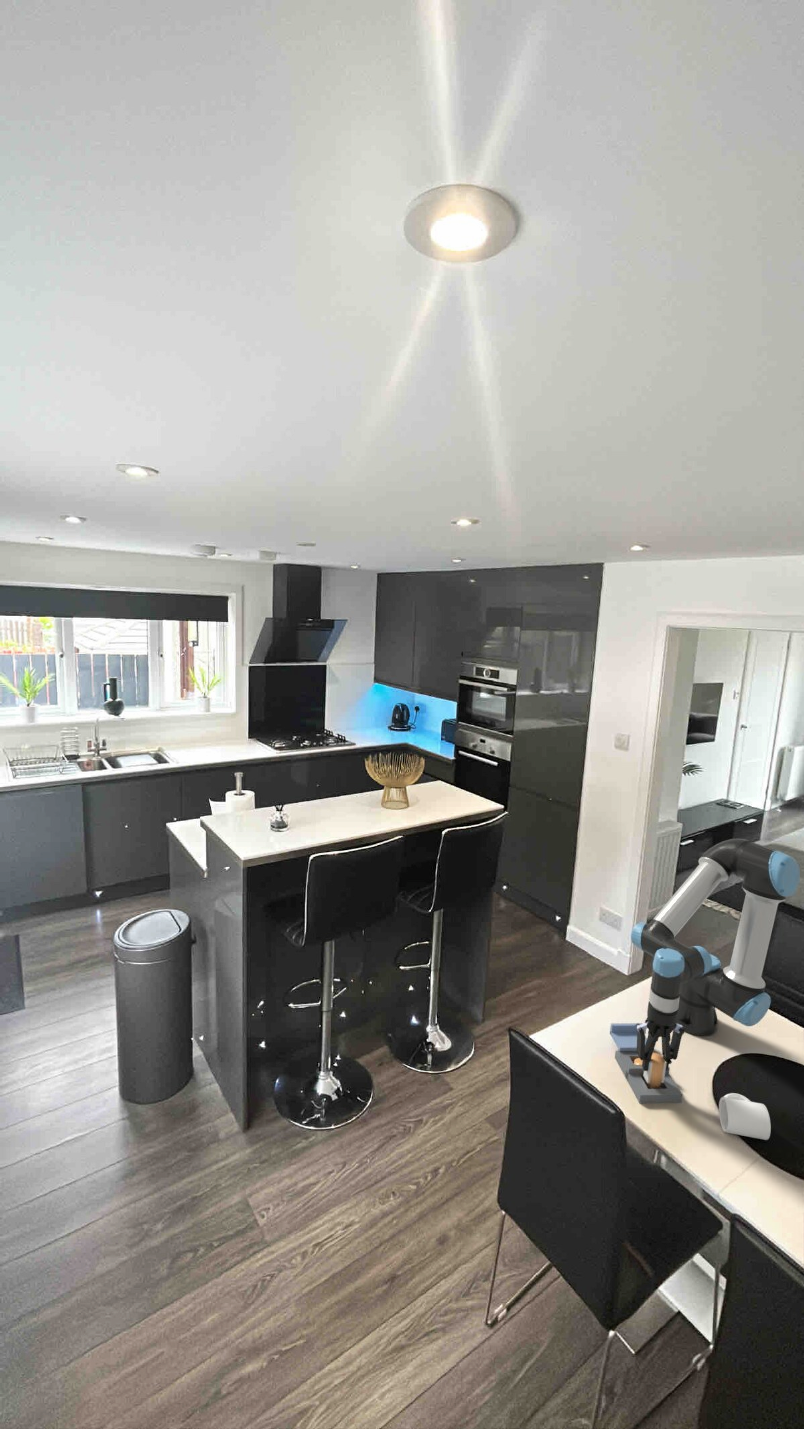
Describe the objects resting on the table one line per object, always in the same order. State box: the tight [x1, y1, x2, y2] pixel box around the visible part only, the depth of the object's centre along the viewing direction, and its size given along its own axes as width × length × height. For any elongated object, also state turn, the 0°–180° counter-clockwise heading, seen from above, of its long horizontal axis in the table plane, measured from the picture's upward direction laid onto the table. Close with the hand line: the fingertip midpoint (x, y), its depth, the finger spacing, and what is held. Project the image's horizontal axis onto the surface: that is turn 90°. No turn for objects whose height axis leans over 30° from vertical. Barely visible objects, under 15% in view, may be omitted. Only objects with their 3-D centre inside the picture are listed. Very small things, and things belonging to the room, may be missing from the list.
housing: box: [614, 1050, 684, 1104], centre depth 179 cm, size 12×17×4 cm
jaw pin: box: [644, 1052, 665, 1089], centre depth 175 cm, size 4×4×8 cm
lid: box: [609, 1022, 648, 1051], centre depth 190 cm, size 10×8×4 cm
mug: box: [718, 1092, 772, 1141], centre depth 164 cm, size 12×10×8 cm
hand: (653, 1079), depth 175 cm, fingers closed on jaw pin, 3 cm apart
